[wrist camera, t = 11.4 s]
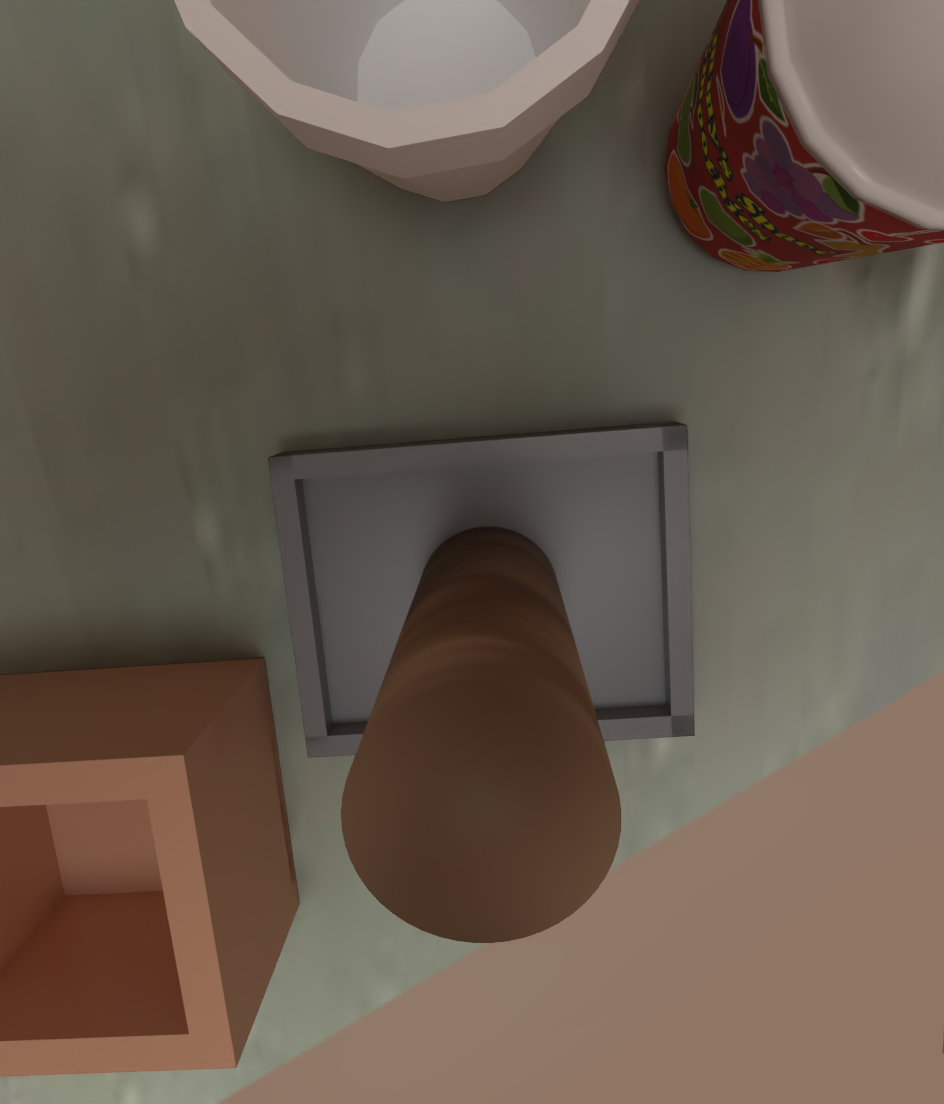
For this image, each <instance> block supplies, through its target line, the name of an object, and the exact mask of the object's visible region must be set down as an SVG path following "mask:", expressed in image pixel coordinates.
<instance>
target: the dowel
mask: <svg viewBox="0 0 944 1104" xmlns="http://www.w3.org/2000/svg"><path fill="white" fill-rule="evenodd" d="M341 818H342V831H343V836H344V841H345V846H346V848H347V851H348V854H349V857H350V860H351V862H352V864H353V866H354V868H355V870H356V872H357V874H358V876H359V877H360V879H361V880H362V881H363V883H364V884H365V886H366V887H367V889H368V890H369V891H370V892H371V893H372V894H373V895H374V896H375V898H376V899H377V900H378V901H379V902H380V903H381V904H382V905H384V906H385V907H386V908H387V909H388V910H389V911H391V912H392V913H393V914H395V915H396V916H398V917H399V918H401V919H402V920H404V921H405V922H407V923H409V924H411V925H413V926H415V927H416V928H418V929H420V930H422V931H425V932H428V933H431V934H433V935H436V936H439V937H443V938H447V939H451V940H456V941H463V942H472V943H494V942H504V941H511V940H515V939H519V938H524V937H527V936H530V935H533V934H536V933H539V932H542V931H544V930H546V929H548V928H550V927H552V926H554V925H556V924H558V923H559V922H561V921H562V920H564V919H565V918H567V917H568V916H570V915H571V914H573V913H574V912H575V911H576V910H577V909H579V908H580V907H581V906H582V905H583V904H584V903H585V902H586V901H587V900H588V899H589V898H590V897H591V895H593V893H594V892H595V891H596V890H597V888H598V887H599V885H600V884H601V882H602V881H603V880H604V878H605V877H606V875H607V873H608V871H609V868H610V866H611V864H612V862H613V860H614V857H615V854H616V850H617V847H618V843H619V837H620V831H621V807H620V798H619V794H618V790H617V786H616V782H615V779H614V775H613V772H612V768H611V765H610V761H609V758H608V754H607V751H606V748H605V744H604V741H603V737H602V734H601V730H600V727H599V723H598V720H597V716H596V713H595V709H594V706H593V702H592V699H591V696H590V692H589V689H588V685H587V682H586V678H585V675H584V671H583V668H582V664H581V661H580V657H579V654H578V650H577V647H576V644H575V640H574V637H573V633H572V630H571V626H570V623H569V619H568V616H567V612H566V609H565V605H564V602H563V598H562V595H561V592H560V588H559V585H558V581H557V578H556V574H555V571H554V569H553V567H552V564H551V563H550V561H549V559H548V558H547V556H546V555H545V554H544V552H543V551H542V550H541V549H540V548H539V547H538V546H537V545H536V544H535V543H534V542H532V541H531V540H530V539H528V538H527V537H525V536H523V535H522V534H520V533H517V532H515V531H512V530H509V529H505V528H501V527H477V528H472V529H468V530H465V531H462V532H460V533H458V534H456V535H454V536H452V537H451V538H449V539H448V540H446V541H445V542H444V543H442V544H441V545H440V546H439V547H438V548H437V549H436V550H435V552H434V553H433V554H432V556H431V557H430V558H429V560H428V562H427V564H426V566H425V568H424V571H423V573H422V576H421V579H420V581H419V584H418V587H417V590H416V592H415V595H414V598H413V600H412V603H411V606H410V609H409V611H408V614H407V617H406V619H405V622H404V625H403V628H402V630H401V633H400V636H399V638H398V641H397V644H396V647H395V649H394V652H393V655H392V657H391V660H390V663H389V666H388V668H387V671H386V674H385V677H384V679H383V682H382V685H381V687H380V690H379V693H378V696H377V698H376V701H375V704H374V706H373V709H372V712H371V715H370V717H369V720H368V723H367V725H366V728H365V731H364V734H363V736H362V739H361V742H360V744H359V747H358V750H357V753H356V755H355V758H354V761H353V763H352V766H351V769H350V772H349V774H348V777H347V780H346V784H345V788H344V792H343V798H342V809H341Z"/></svg>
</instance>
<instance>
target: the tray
mask: <svg viewBox="0 0 944 1104" xmlns="http://www.w3.org/2000/svg"><path fill="white" fill-rule="evenodd" d="M268 461H269V469H270V476H271V484H272V491H273V499H274V506H275V514H276V521H277V529H278V536H279V544H280V551H281V559H282V566H283V574H284V581H285V589H286V596H287V604H288V611H289V619H290V626H291V634H292V641H293V649H294V656H295V664H296V671H297V679H298V686H299V694H300V701H301V709H302V716H303V724H304V731H305V739H306V746H307V754H308V757H326V756H344V755H356V753H357V750H358V747H359V744H360V742H361V739H362V736H363V734H364V731H365V728H366V725H367V723H368V720H369V717H370V715H371V712H372V709H373V706H374V704H375V701H376V698H377V696H378V693H379V690H380V687H381V685H382V682H383V679H384V677H385V674H386V671H387V668H388V666H389V663H390V660H391V657H392V655H393V652H394V649H395V647H396V644H397V641H398V638H399V636H400V633H401V630H402V628H403V625H404V622H405V619H406V617H407V614H408V611H409V609H410V606H411V603H412V600H413V598H414V595H415V592H416V590H417V587H418V584H419V581H420V579H421V576H422V573H423V571H424V568H425V566H426V564H427V562H428V560H429V558H430V557H431V556H432V554H433V553H434V552H435V550H436V549H437V548H438V547H439V546H440V545H441V544H442V543H444V542H445V541H446V540H448V539H449V538H451V537H452V536H454V535H456V534H458V533H460V532H462V531H465V530H468V529H472V528H477V527H501V528H505V529H509V530H512V531H515V532H517V533H520V534H522V535H523V536H525V537H527V538H528V539H530V540H531V541H532V542H534V543H535V544H536V545H537V546H538V547H539V548H540V549H541V550H542V551H543V552H544V554H545V555H546V556H547V558H548V559H549V561H550V563H551V564H552V567H553V569H554V571H555V574H556V578H557V581H558V585H559V588H560V592H561V595H562V598H563V602H564V605H565V609H566V612H567V616H568V619H569V623H570V626H571V630H572V633H573V637H574V640H575V644H576V647H577V650H578V654H579V657H580V661H581V664H582V668H583V671H584V675H585V678H586V682H587V685H588V689H589V692H590V696H591V699H592V702H593V706H594V709H595V713H596V716H597V720H598V723H599V727H600V730H601V734H602V737H603V741H609V740H626V739H644V738H662V737H679V736H695V733H694V690H693V647H692V604H691V561H690V517H689V474H688V431H687V425H685V424H682V423H678V422H667V423H655V424H642V425H629V426H616V427H603V428H590V429H577V430H564V431H552V432H539V433H526V434H513V435H500V436H487V437H474V438H461V439H449V440H436V441H423V442H410V443H397V444H384V445H371V446H359V447H346V448H333V449H320V450H307V451H294V452H282V453H279V454H276V455H274V456H271V457H268Z"/></svg>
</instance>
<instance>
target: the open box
mask: <svg viewBox="0 0 944 1104" xmlns="http://www.w3.org/2000/svg"><path fill="white" fill-rule="evenodd" d="M298 906H299V898H298V891H297V884H296V877H295V870H294V863H293V855H292V848H291V841H290V834H289V827H288V820H287V813H286V806H285V799H284V792H283V785H282V778H281V771H280V764H279V757H278V750H277V743H276V736H275V729H274V722H273V714H272V707H271V700H270V693H269V686H268V679H267V672H266V665H265V658H261V659H245V660H229V661H214V662H198V663H182V664H167V665H151V666H135V667H119V668H104V669H88V670H72V671H57V672H41V673H25V674H9V675H0V1076H24V1075H53V1074H81V1073H109V1072H137V1071H165V1070H194V1069H222V1068H236V1067H237V1065H238V1062H239V1059H240V1057H241V1054H242V1052H243V1049H244V1046H245V1044H246V1041H247V1039H248V1036H249V1033H250V1031H251V1028H252V1026H253V1023H254V1020H255V1018H256V1015H257V1013H258V1010H259V1007H260V1005H261V1002H262V1000H263V997H264V994H265V992H266V989H267V987H268V984H269V982H270V979H271V976H272V974H273V971H274V969H275V966H276V963H277V961H278V958H279V956H280V953H281V950H282V948H283V945H284V943H285V940H286V937H287V935H288V932H289V930H290V927H291V924H292V922H293V919H294V917H295V914H296V911H297V909H298Z"/></svg>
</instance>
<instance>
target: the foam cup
mask: <svg viewBox="0 0 944 1104" xmlns="http://www.w3.org/2000/svg"><path fill="white" fill-rule="evenodd" d="M174 1H175V4H176V6H177V8H178V11H179V13H180V15H181V18H182V20H183V22H184V25H185V27H186V28H187V29H188V30H189V32H190V33H191V34H192V35H193V36H194V37H195V38H196V39H197V40H198V41H199V42H200V43H201V45H202V46H203V47H204V48H205V49H206V50H207V51H208V52H209V53H210V54H211V55H212V56H213V58H214V59H215V60H216V61H217V62H218V63H219V64H220V65H221V66H222V67H223V68H224V70H225V71H226V72H227V73H228V74H229V75H230V76H231V77H232V78H233V79H234V80H235V81H237V82H238V83H239V84H240V85H241V86H242V87H243V88H244V89H245V90H246V91H247V92H248V93H249V94H250V95H251V96H252V97H253V98H254V99H256V100H257V101H258V102H259V103H260V104H261V105H262V106H263V107H264V108H265V109H266V110H267V111H268V112H269V113H270V114H271V115H272V116H274V117H275V118H276V119H277V120H278V121H279V122H280V123H281V124H282V125H283V126H284V127H285V128H286V129H287V130H288V131H289V132H290V133H292V134H293V135H294V136H295V137H296V138H297V139H298V140H299V141H300V142H301V143H302V144H303V145H304V146H305V147H306V148H308V149H311V150H314V151H317V152H321V153H324V154H327V155H330V156H334V157H337V158H340V159H343V160H346V161H350V162H353V163H355V164H357V165H359V166H361V167H363V168H364V169H366V170H368V171H370V172H372V173H373V174H375V175H377V176H379V177H381V178H382V179H384V180H386V181H388V182H390V183H392V184H393V185H395V186H397V187H399V188H401V189H404V190H406V191H410V192H413V193H416V194H419V195H423V196H426V197H429V198H432V199H435V200H439V201H442V202H449V201H454V200H460V199H465V198H471V197H476V196H482V195H486V194H488V193H489V192H490V191H492V190H493V189H494V188H496V187H497V186H498V185H500V184H501V183H502V182H504V181H505V180H506V179H508V178H509V177H510V176H512V175H513V174H514V173H516V172H517V171H518V170H520V169H521V168H522V167H523V166H524V165H525V163H526V162H527V161H528V159H529V158H530V157H531V155H532V154H533V153H534V151H535V150H536V149H537V147H538V146H539V145H540V143H541V142H542V141H543V139H544V138H545V137H546V135H547V134H548V133H549V131H550V130H551V129H552V127H553V126H554V125H555V123H556V122H557V121H558V119H559V118H560V117H561V116H562V115H564V114H565V113H566V112H568V111H569V110H570V109H571V108H573V107H574V106H575V105H577V104H578V103H579V102H581V101H582V100H583V99H585V98H586V97H587V96H589V94H590V92H591V90H592V88H593V87H594V85H595V83H596V81H597V79H598V77H599V76H600V74H601V72H602V70H603V68H604V66H605V64H606V63H607V61H608V59H609V57H610V55H611V53H612V51H613V50H614V48H615V46H616V44H617V42H618V40H619V39H620V37H621V35H622V33H623V31H624V29H625V27H626V26H627V24H628V22H629V20H630V18H631V16H632V14H633V13H634V11H635V9H636V7H637V5H638V3H639V2H640V0H174Z"/></svg>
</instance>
